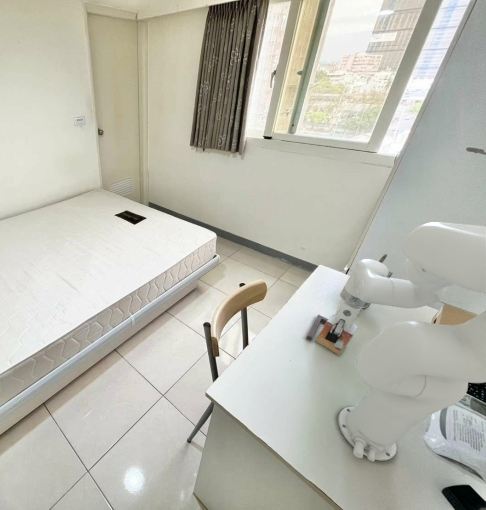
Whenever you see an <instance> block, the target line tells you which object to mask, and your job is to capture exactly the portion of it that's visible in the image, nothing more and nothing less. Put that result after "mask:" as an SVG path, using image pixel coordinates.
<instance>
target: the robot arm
mask: <svg viewBox="0 0 486 510" xmlns="http://www.w3.org/2000/svg"><path fill="white" fill-rule="evenodd" d="M403 253H404V255H405V257H406V259H405V261H404V263H403V266H402V269H403V273H404V275H405V277H406V279H401V278H396V277H390V278H387V275H388V273H389V272H390V270H389V268H388V267H387V266H386V264H384V263H381V262H379V260H375V259H372V258H363V259H360V260H359V261H358V262H357V263H356V265H355V267H354V268H353V270H352V272H351V274H350V276H349V277H348V279H347V281H346V283H345V285H344V287H343V288H342V290H341V291H340V293H339V298H340V299H341V300H340V303H339V305H338V306H337V308H336V310H335V313H334V315H335V316H334V318H333V321H332V325H333V327H332V329H331V330H329V332H328V334H327V335H326V337H325V339H326V340H328V341H330V342H332V343H334V344H335V343H336V342H337V340H338V339H339V337H340V334H341V332H342V331H343V329H344V331H346V332H348V331H349V329H350V327H351V326H352V324H353V325H354V322H355V320H356V319H357V317H358V316H359V315H360V312H361V310H362V308H365V307H367V306H368V304H369V303H371V304H372V305H373V304H374V305H380V306H389V307H394V308H395V307H396V308H401V309H417V308H422V307H426V306H429V305H433V304H435V303H438V302H439V301H441V300H442V299H443V298H444V296H445V295H446V293H447V291H448V288H449V287H450V286H453V285H456V286H458V287H461V288H464V289H466V290H470V291H473V292H477V293H483V294H486V226H485V225H479V224H478V225H477V224H467V223H466V224H465V223H456V222H444V221H433V222H432V221H431V222H427V223H423V224H421V225H418V226H417V227H416V228H414V229H413V230H412V231H410V232H409V234H407V236H406V238H405V240H404V242H403ZM368 307H369V306H368ZM368 307H367V308H368ZM336 323H338V325H336ZM342 326H343V327H342ZM335 327H336V329H335V330H333V329H334V328H335ZM354 366H355V371H356V375H357V376H358V378H359V379H360V380H361V381H362V382H363V383H364V384H365V385H366V386H368V387H369V388H371V389H370V390H369V391H368V392H366V394H365V395H364V397H363V398H361V400H360V401H359V402H358V403H357V404H356V405H355V406H346V407H344V408H343V409H342V410H341V411H340V412H339V414H338V418H337V421H338V426H339V429H340V431H341V433H342V435H343V437H344V438H345V440H347V442H348V443H349V444H350V445H351V446H352V447H353V451H352V454H353V455H354V456H355V457H356V458H358V459H363V458H364V456H365V457H366V458H367V460H369V461H370V462H375V461H380V462H384V461H388V460H391V459H392V458H394V456H395V455H396V453H397V442H398V441H399V440H401V439H402V438H404V437H405V436H406V435H408V434H409V432H411V431H412V430H413V429H415V428H416V427H417V426H418V425H420V424H421V423H422V422H423V421H425V420H426V419H428V418H429V417H430V416H432V415H433V414H435V413H438V412H439V411H442V410H444V409H447V408H449V407H451V406H454V405H456V404H457V403H458V402H460V401H461V400H462V399H463V398H465V396H466V394H467V392H468V388H469V383H471V384H482V383H483V384H484V383H486V310H485V311H483V312H481V313H479V314H477V315H476V316H475V317H473V318H471V319H469V320H467V321H464V322H463V323H459V324H439V323H433V322H426V321H419V320H417V321H416V320H404V321H399V322H396V323H393V324H392V325H390V326H388V327H387V328H385V329H384V330H383V331H381V332H380V333H379V334H377V335H376V336H375V337H374V338H372V339H371V340H369V341H368V342H367V343H366V344H364V345H363V346H362V348H361V349H360V350H359V351H358V353H357V355H356V358H355V365H354Z"/></svg>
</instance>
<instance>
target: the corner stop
mask: <svg viewBox="0 0 486 510" xmlns="http://www.w3.org/2000/svg"><path fill="white" fill-rule="evenodd" d="M328 319H329V318H327V317H325V316H322V315H321V314H317V316H316V318H315V320H314V322H313V324H312V326H311V328H310V330H309V331H308V334H307V336H306V338H305V340H307V341H308V342H311V340H312V339H313V337H314V335H315V333H316V331H317V329H318V327H319V326H320V324H323V325H325V324H326V322H327V321H328Z"/></svg>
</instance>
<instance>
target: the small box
mask: <svg viewBox="0 0 486 510" xmlns="http://www.w3.org/2000/svg"><path fill="white" fill-rule="evenodd" d="M334 316H335V313H331V314H330V316H329V317H328V318H327V319H328V321H327V322H326V324H323V326H322V329H320V330H321V331H320V332H319V333H318V335H317V337H316V338H315V342H316V343H318V344H319V345H322V346H323V347H325V348H326V349H328V350H330V351H331V352H333V353H335V354H336V355H338V356H340V355H341V354H342V352H343V351H344V350H345V348H346V347H347V345H348V344H349V342H350V341H351V340H352V338H353V337H354V334H355V333H356V332H357V330H358V328H359V326H357V325H356V324H354V323H353V324H352V326H351V327H350V329H349V331H348V332H346V331H344V329H343V331H342V332H341V334H340V337H339V339H338V340H337V342H336V343H335V344H334V343H332V342H330V341H328V340H326V339H325V337H326V335H327V334H328V332H329V330H331V329H332V327H333V325H332V321H333V318H334ZM336 325H338V323H336ZM342 327H343V326H342ZM335 329H336V327H335V328H334V329H333V330H335Z"/></svg>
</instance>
